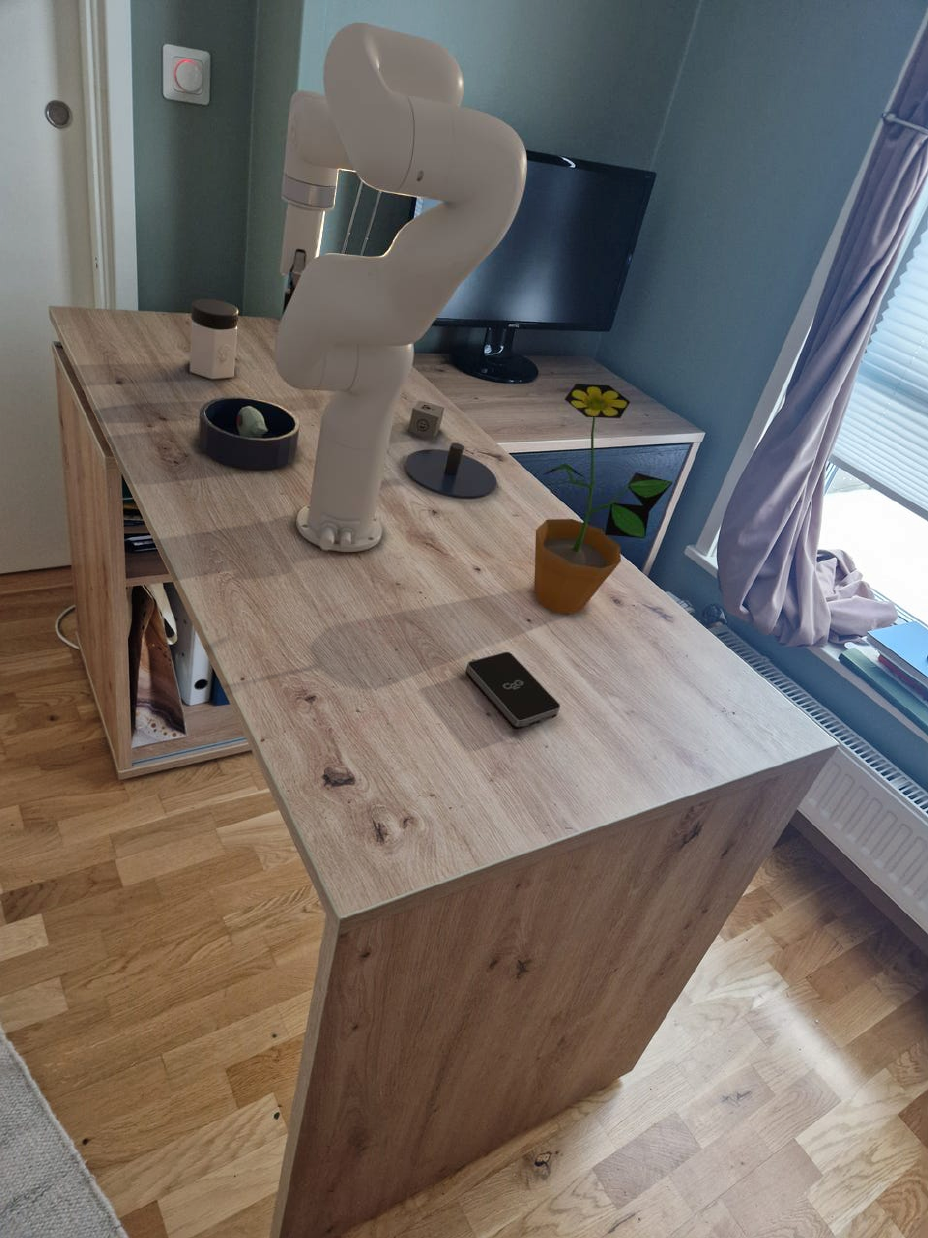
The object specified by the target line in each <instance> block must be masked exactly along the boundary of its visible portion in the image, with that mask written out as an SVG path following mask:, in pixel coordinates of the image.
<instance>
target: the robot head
mask: <svg viewBox="0 0 928 1238" xmlns="http://www.w3.org/2000/svg"><path fill="white" fill-rule="evenodd" d="M237 427H238V431H239V434H240V436H242V437H247V438H258V439H260V438H261V436H262V434H264V433H265V432H267V431H268V430H267V428H266V426H265V424H264V419H263V416H262V415H261V414H260V412H259V411H258V410H256V409H255V408H253V407H251V406H247V407H244V408H242V409H241V410H240V412H239V413H238V416H237Z"/></svg>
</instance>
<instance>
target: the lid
mask: <svg viewBox="0 0 928 1238" xmlns="http://www.w3.org/2000/svg"><path fill="white" fill-rule="evenodd" d="M464 450H465V446H464V444H462V443H459V442H451V443H450V446H449V448H448V450H447V449H439V448H438V449H437V448H427V449H419V450H416V451H413V452H411V453H409V454H408V455H407V456H406V458H405V460H404V462H403V463H404V464H403V468H404V471H405V472H406V474H407V475H408V478H410V479H411V480H412V481H414V482H415V483H416V484H417V485H419V486H421V487H422V488H424V489H426V490H429V491H431V492H434V493H435V494H439V495H442V496H446V497H451V498H456V499H467V500H468V499H470V500H471V499H481V498H484V497H487V496H489V495H491V494H492V493H493V492H494V491H495V489H496V487H497V483H498V482H497V478H496V476H495V473H493V471H491V470H492V469H491V470H490V468H489V467H488V466H486V465H485V464H483V463H482V462H480V461H479V460H477V459H475V458H473V457H470V456H468V455H465V454H464Z"/></svg>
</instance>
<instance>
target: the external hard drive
mask: <svg viewBox="0 0 928 1238" xmlns="http://www.w3.org/2000/svg"><path fill="white" fill-rule="evenodd" d="M464 674H465V675H466V677H467V678H468V679H469V680H470V681H471V683H472V684H473V685H474V686H475V687H476V688H477V689H478V691H479V692H480V693H481V694H482V695H483V696H484V698H485V699H486V700H487V701H488V702H489V703H490V704H491V706H492V707H493V708H494V709H495V710H496V712H498V714H499V715H500V716H501V717H502V718H503V719H504V720H505V722H506V723H507V724H508V725H509V726H510V728H512V729H513V730H514V731H518V730H522V729H525V728H527V727H530V726H533V725H536V724H540V723H542V722H545V721H547V720H551V719H553V718H555V717H557V715H558V714H559V711H560V709H561V704H560V703H559V702H558V700H557V699H556V698H554V696H552V694H551V693H550V692H549V691H548V690H547V689H546V688H545V687H544V686H543V685H542V684H541V683H540V682H539V680H538V679H537V678H536V677H535V676H533V674H532V673H531V672H530V671H529V670H528V669H527V668H526V667H525V665H523V664H522V663H521V662H520V661H519V660H518V659H517V657H516V656H515V655H514V654H513V653H512V652H510V651H503V652H499V653H495V654H492V655H487V656H484V657H481V658H477V659H473V660H470V661H468V662H467V664H466V667H465V671H464Z"/></svg>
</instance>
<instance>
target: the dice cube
mask: <svg viewBox="0 0 928 1238" xmlns="http://www.w3.org/2000/svg"><path fill="white" fill-rule="evenodd" d="M444 412H445V407H443V406H440V405H438V404H435V403H430V402H427V401H425V400H421V399H418V401H417V402H416V403H415V404H414V406H413V408H411V414H410V418H409V424H408V429H407V432H409V433H412V434H416V435H419V436H422V437H425V438H429V439H432V440H434V439H435V437H436V436H437V434H438V432H439V431H440V429H441V424H442V419H443V415H444Z"/></svg>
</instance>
